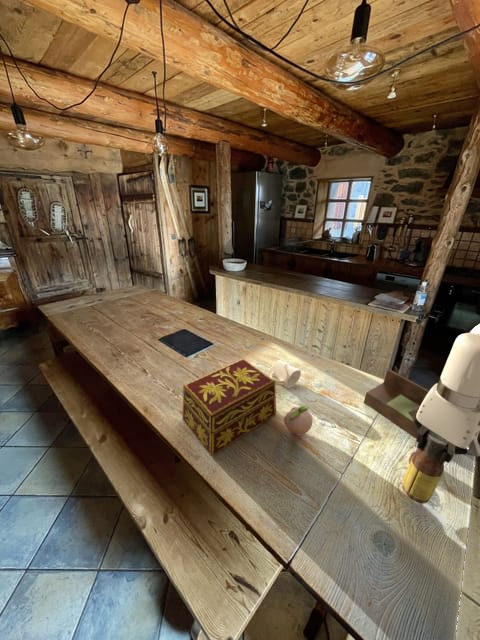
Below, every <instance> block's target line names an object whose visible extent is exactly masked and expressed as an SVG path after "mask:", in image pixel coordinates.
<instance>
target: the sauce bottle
mask: <svg viewBox="0 0 480 640" xmlns="http://www.w3.org/2000/svg"><path fill="white" fill-rule="evenodd" d="M448 443H449V441H447V440H446V439H444V438H442V437H441V436H439V435H438V434H436V433H435V432H433V431H429V433H428V435H427V440H426V442H425V444H424V446H423V447H422V448H421V449H418V448H417V447H416V449H415V451H414V452H415V453H414V456H413V457H412V460H411V462H410V464H409V465H408V467H407V470H406V472H405V474H404V478H403V480H402V490H403V492H404V494H405V495H406V496H407V497H408V498H409V499H410V500H411V501H413V502H415V503H416V504H423V505H424V504H426V503H429V501H430V500H431V499H432V498H433V497H432V496H433V495H434V493H435V491H436V488H437V486H438V484H439V482H440V480H441V478H442V476H443V473H444V471H445V465H444V463H445V462H444V463H443V464H442V465H441V464H439V460H440V458H441V456H442V453H443V452H444V450H445V449H446V448H448Z"/></svg>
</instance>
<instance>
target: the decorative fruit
mask: <svg viewBox="0 0 480 640" xmlns="http://www.w3.org/2000/svg"><path fill="white" fill-rule="evenodd" d="M283 419H284V420H283V421H284V425H285V428H286V429H287V430H288V431H289V432H290V433H291V434H293V435H305V434H307V433H308V432H309V431H310V430H311V428H312V426H313V416H312V414H311V412H310V411H309V407H308V406H307V405H295V406H293V407H292V408H290V411H288V412H287V413H286V414H285V416H284V418H283Z"/></svg>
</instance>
